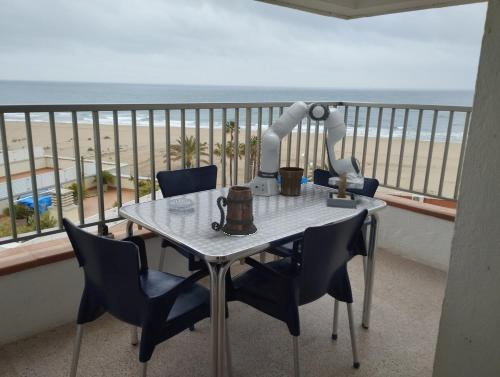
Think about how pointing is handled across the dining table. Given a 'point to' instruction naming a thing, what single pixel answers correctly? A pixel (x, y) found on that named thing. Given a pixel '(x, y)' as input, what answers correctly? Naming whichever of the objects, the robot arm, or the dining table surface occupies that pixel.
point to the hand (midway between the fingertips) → (342, 185)
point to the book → (304, 180)
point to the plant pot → (291, 180)
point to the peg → (342, 186)
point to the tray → (341, 200)
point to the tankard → (236, 212)
